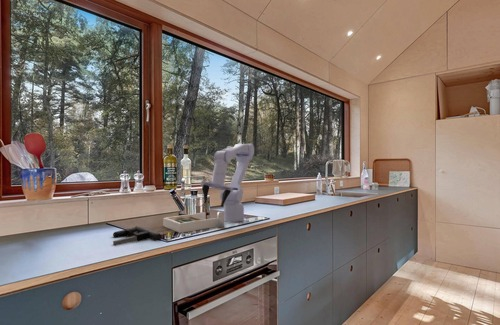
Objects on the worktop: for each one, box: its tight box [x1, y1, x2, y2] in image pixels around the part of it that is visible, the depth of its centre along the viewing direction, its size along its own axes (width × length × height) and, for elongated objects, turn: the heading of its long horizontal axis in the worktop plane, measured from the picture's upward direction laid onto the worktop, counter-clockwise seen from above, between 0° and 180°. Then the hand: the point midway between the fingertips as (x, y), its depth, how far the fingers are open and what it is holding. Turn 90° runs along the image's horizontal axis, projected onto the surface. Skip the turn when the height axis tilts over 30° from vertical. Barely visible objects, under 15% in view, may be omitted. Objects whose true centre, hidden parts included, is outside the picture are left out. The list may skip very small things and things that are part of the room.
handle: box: [217, 211, 225, 229], centre depth 128 cm, size 3×3×7 cm
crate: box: [171, 216, 203, 223], centre depth 129 cm, size 12×14×3 cm
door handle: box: [112, 225, 163, 246], centre depth 110 cm, size 3×20×16 cm
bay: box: [162, 211, 218, 234], centre depth 131 cm, size 22×17×4 cm
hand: (213, 204), depth 126 cm, fingers open, 7 cm apart
